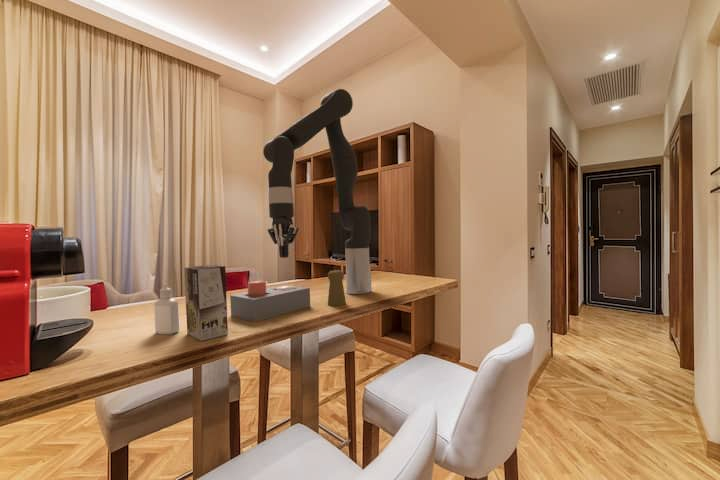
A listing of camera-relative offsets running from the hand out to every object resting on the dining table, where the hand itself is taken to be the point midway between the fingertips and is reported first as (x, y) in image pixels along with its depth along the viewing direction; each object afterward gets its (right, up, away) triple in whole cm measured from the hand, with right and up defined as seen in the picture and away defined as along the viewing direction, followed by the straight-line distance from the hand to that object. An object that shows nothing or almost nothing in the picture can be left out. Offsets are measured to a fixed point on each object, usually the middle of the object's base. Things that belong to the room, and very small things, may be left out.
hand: (284, 257), depth 97 cm
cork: (+17, -16, +3) cm, 23 cm away
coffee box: (-12, -17, -24) cm, 32 cm away
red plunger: (-6, -13, -8) cm, 16 cm away
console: (-3, -16, -4) cm, 17 cm away
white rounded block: (0, -16, 0) cm, 16 cm away
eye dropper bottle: (-23, -17, -22) cm, 36 cm away
